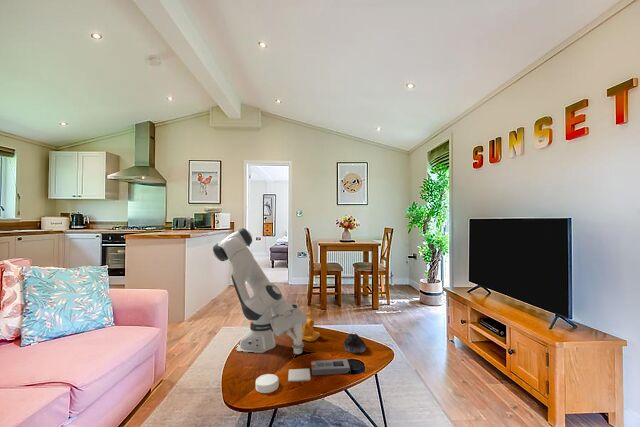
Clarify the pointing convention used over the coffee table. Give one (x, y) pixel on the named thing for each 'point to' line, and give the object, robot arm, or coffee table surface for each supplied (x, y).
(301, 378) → the mat
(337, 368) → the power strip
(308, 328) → the bracket
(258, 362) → the coffee table surface
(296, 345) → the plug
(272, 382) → the coaster
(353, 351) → the crystal cluster
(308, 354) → the coffee table surface
